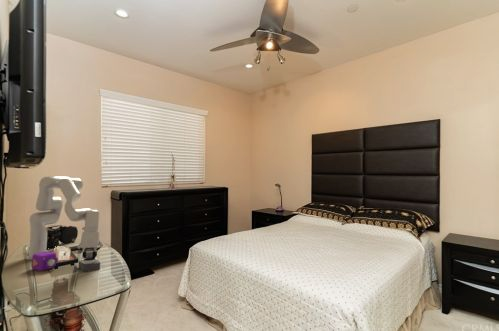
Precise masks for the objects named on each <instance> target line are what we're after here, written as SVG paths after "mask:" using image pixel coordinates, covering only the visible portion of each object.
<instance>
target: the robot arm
mask: <svg viewBox="0 0 499 331" xmlns="http://www.w3.org/2000/svg"><path fill="white" fill-rule="evenodd" d="M83 186H84V184H83V181H82V179H81V178H78V177H72V176H64V175H63V176H58V175H57V176H56V175H52V176H51V175H50V176H44V177H41V179H40V180H39V184H38V188H39V190H38V191H39V192H38V195H37V198H36V203H35V209H36V210H37V211H38V212H34V213H32V214H31V215H30V216H29V219H28V220H29V227H30V234H29V248H28V251H29V252H28V255H27V256H26V257H25V260H28V261H32V257H33V255H34V254H37V253H41V252H45V251H47V250H48V249H47V233H48V231H47V229H46V228H45V227H46V226H48V225H53V224H54V225H55V224H56V223H57V222H58V221H59V220H60V217H61V213H62V210H63V203H64V202H63V199H62V198H61V197H60V196H55V190H54V189H60V191H61V193H62V194H63V196H64V198H65V200H66V201H65V203H64V213H65V215H66V216H67V218H68V219H69V221H71V222H81V221H84V227H82V228H81V230H82V234H81V237H80V238H81V239H80V242H79V244H78V245H77V246H76V248H77V249H78V250H79V251H81V253H82V259H84V258H85V251H86V248H94V250H95V251H94V256H93V258H95V257H97V256H98V251H99V250H100V249H101V248H103V247H104V244H103V243H102V242H101V234H100V230H99V220H100V219H99V217H100V211H99V210H98V209H92V208H90V207H88V208H77V209H76V208H75V207H74V205H73V203H75V202H76V201H78V200H79V199H81V196H82V195H81V192H80V191H79V190H81V189H82V188H83ZM46 249H47V250H46Z"/></svg>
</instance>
